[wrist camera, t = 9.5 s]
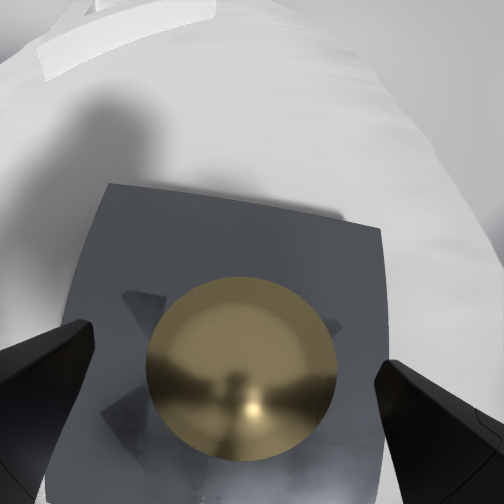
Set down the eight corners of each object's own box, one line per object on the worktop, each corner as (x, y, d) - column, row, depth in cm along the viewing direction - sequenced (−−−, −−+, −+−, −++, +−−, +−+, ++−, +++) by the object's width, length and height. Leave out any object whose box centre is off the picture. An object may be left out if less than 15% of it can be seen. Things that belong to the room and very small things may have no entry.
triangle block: (214, 20, 39) (218, -10, 33) (139, 89, 27) (135, 40, 21) (81, 20, 38) (78, -4, 32) (-9, 89, 26) (-20, 59, 20)
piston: (217, 436, 14) (233, 495, 5) (161, 369, 16) (108, 346, 7) (282, 383, 16) (370, 373, 7) (228, 320, 18) (256, 243, 9)
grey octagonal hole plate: (346, 519, 12) (368, 533, 10) (66, 488, 11) (46, 501, 8) (360, 248, 21) (380, 228, 19) (118, 209, 20) (109, 183, 17)
